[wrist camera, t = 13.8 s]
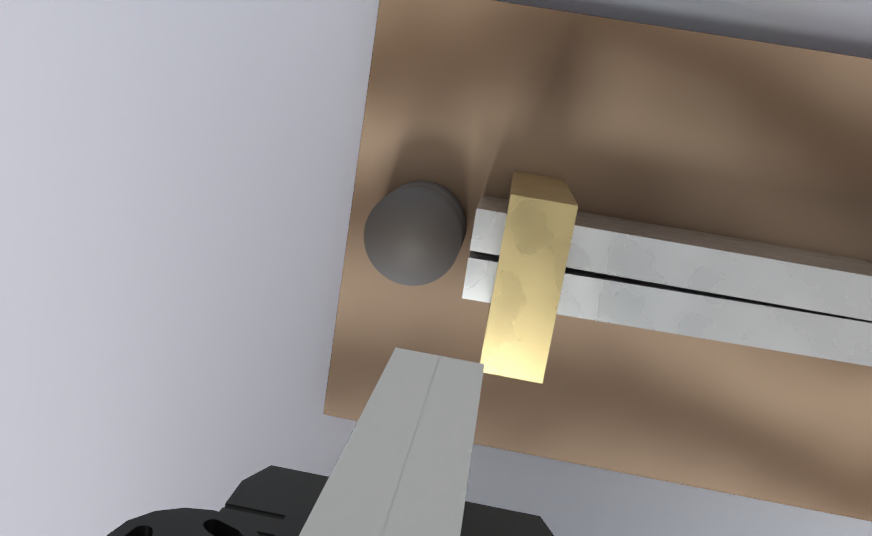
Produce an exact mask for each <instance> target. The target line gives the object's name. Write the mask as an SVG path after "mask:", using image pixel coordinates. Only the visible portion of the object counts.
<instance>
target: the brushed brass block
mask: <svg viewBox="0 0 872 536" xmlns="http://www.w3.org/2000/svg"><path fill="white" fill-rule="evenodd" d="M577 210H578V204H577V203H576V201H575V199H574V197H573V195H572V193H571V191H570V189H569V187H568V186H567V184H566V182H565V180H564V179H560V178H554V177H549V176H543V175H537V174H531V173H525V172H519V171H514V172H513V177H512V183H511V189H510V197H509V204H508V211H507V216H506V222H505V227H504V233H503V238H502V244H501V249H500V255H499V260H498V266H497V271H496V277H495V282H494V288H493V293H492V299H491V303H490V304H489V310H488V316H487V322H486V328H485V335H484V341H483V347H482V353H481V360H480V363H481V364H484V371H483V372H484V373H489V374H495V375H500V376H505V377H510V378H516V379H521V380H526V381H532V382H537V383H543V378H544V373H545V368H546V363H547V358H548V353H549V348H550V344H551V339H552V334H553V329H554V324H555V319H556V314H557V309H558V304H559V299H560V294H561V289H562V284H563V279H564V274H565V269H566V264H567V259H568V254H569V250H570V245H571V240H572V235H573V230H574V225H575V220H576V215H577Z"/></svg>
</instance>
